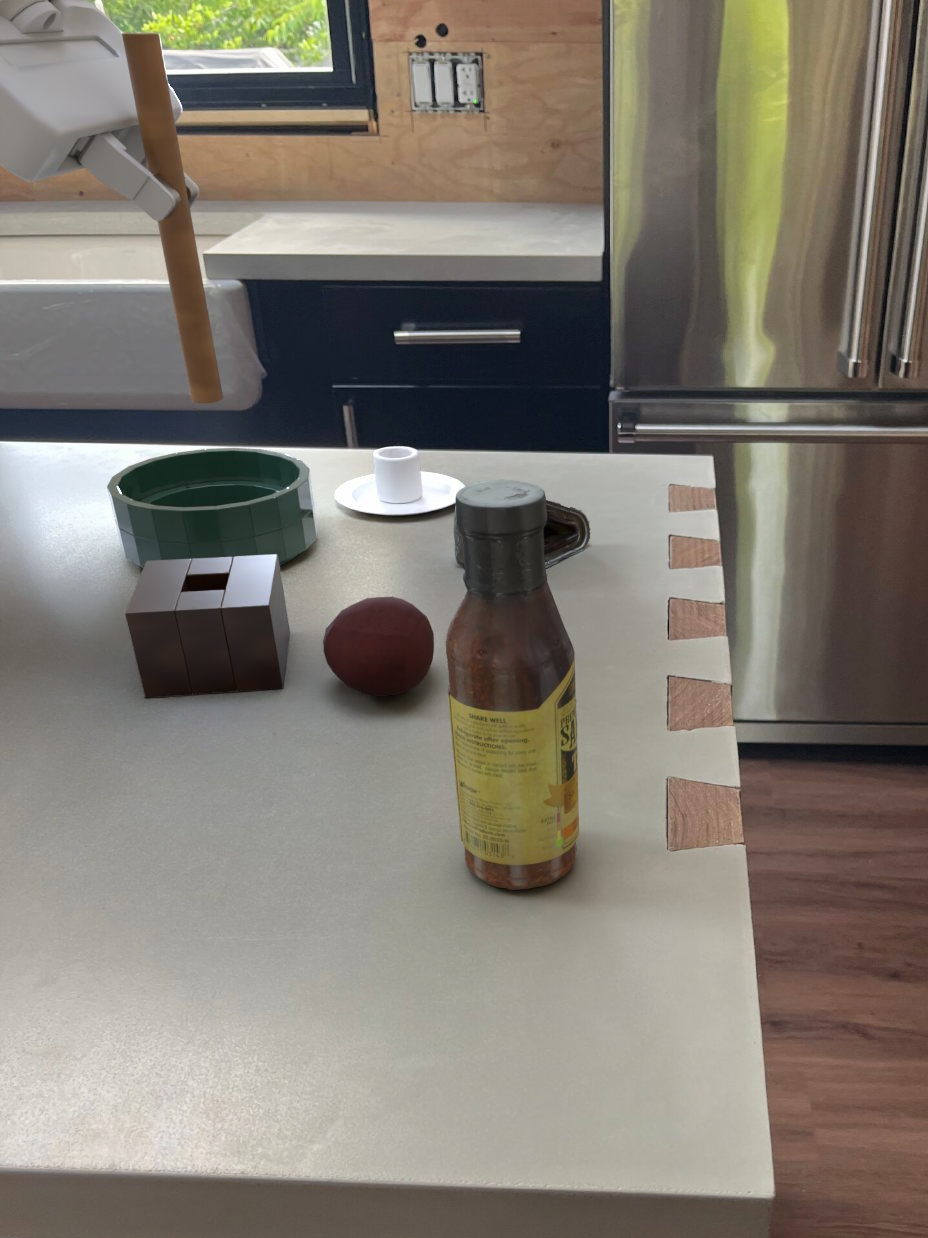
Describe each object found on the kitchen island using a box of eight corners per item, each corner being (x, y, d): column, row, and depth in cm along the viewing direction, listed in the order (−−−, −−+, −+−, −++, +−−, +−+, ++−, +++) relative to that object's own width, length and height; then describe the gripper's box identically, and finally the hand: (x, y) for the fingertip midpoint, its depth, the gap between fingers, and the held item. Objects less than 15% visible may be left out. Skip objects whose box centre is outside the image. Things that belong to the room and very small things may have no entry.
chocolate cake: (535, 528, 105) (444, 451, 96) (596, 522, 101) (507, 441, 91) (504, 625, 103) (408, 556, 94) (566, 624, 99) (471, 551, 89)
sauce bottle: (592, 885, 61) (592, 512, 50) (474, 905, 60) (446, 526, 49) (562, 817, 66) (555, 465, 55) (451, 834, 65) (422, 476, 54)
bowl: (109, 590, 92) (90, 514, 88) (140, 519, 104) (125, 451, 101) (315, 579, 94) (304, 505, 91) (321, 511, 107) (312, 444, 103)
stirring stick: (190, 404, 77) (120, 33, 65) (192, 396, 78) (123, 32, 67) (222, 402, 77) (158, 33, 66) (223, 394, 79) (160, 32, 67)
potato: (301, 703, 77) (288, 618, 74) (368, 651, 83) (359, 571, 80) (400, 725, 75) (390, 638, 71) (461, 670, 81) (455, 588, 78)
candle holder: (493, 498, 110) (491, 451, 108) (394, 532, 102) (389, 483, 100) (408, 470, 116) (404, 425, 114) (308, 500, 109) (302, 453, 106)
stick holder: (145, 698, 77) (124, 613, 74) (164, 640, 84) (146, 560, 81) (283, 689, 79) (269, 605, 75) (290, 632, 86) (277, 553, 82)
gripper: (-102, -50, 56) (146, 188, 61) (78, -37, 73) (260, 149, 78) (-160, 61, 59) (82, 279, 64) (26, 48, 75) (206, 222, 81)
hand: (181, 207), depth 71 cm, fingers closed on stirring stick, 2 cm apart
